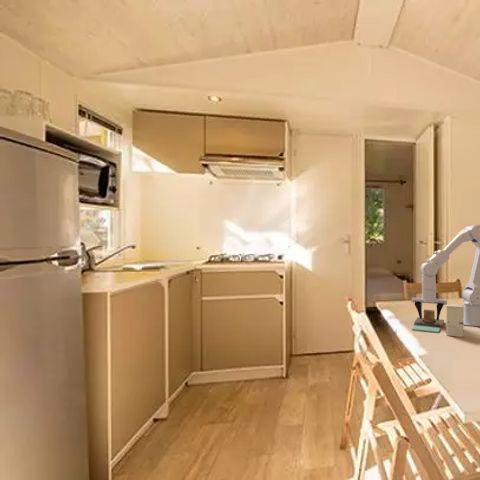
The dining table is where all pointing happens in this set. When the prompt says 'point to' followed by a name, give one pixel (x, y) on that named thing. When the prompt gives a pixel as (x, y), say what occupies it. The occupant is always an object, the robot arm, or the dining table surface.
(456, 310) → the skincare box
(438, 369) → the dining table surface
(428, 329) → the mat
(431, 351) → the dining table surface
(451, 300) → the dining table surface
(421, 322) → the socket plate
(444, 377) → the dining table surface
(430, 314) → the brown block
